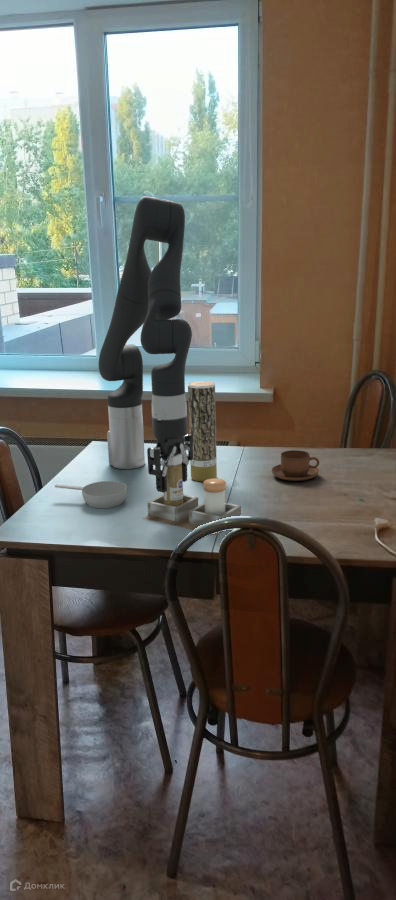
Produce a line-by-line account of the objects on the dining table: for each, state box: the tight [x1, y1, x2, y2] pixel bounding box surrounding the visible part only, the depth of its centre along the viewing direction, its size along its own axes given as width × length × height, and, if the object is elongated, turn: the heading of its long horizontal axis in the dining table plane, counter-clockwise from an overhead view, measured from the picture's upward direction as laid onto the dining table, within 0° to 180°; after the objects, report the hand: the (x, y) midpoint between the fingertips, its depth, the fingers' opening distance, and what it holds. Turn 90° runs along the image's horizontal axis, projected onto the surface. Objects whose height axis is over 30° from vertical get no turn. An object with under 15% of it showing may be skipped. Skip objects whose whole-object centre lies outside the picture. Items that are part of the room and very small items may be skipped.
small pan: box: [54, 480, 128, 509], centre depth 166 cm, size 11×18×4 cm, turn 78°
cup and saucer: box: [271, 449, 320, 482], centre depth 179 cm, size 12×12×6 cm
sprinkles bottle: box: [161, 454, 184, 507], centre depth 153 cm, size 5×5×14 cm
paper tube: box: [187, 380, 218, 483], centre depth 176 cm, size 7×7×25 cm
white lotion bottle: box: [203, 477, 226, 516], centre depth 147 cm, size 5×5×9 cm
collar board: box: [143, 493, 242, 536], centre depth 151 cm, size 19×12×4 cm, turn 57°
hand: (172, 486), depth 153 cm, fingers open, 7 cm apart
